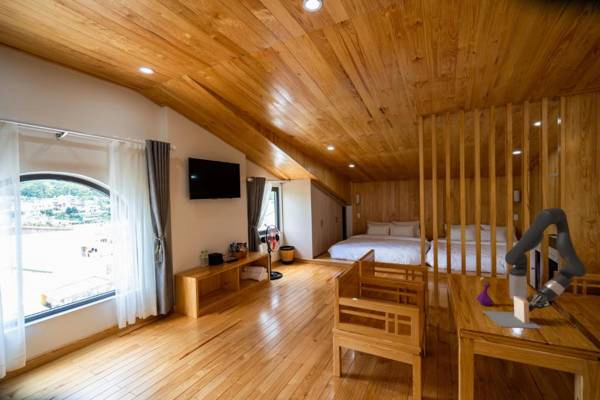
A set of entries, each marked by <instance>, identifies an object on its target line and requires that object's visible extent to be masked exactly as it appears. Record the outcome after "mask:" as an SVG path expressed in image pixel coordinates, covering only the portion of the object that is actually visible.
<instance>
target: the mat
mask: <svg viewBox="0 0 600 400" xmlns="http://www.w3.org/2000/svg"><path fill="white" fill-rule="evenodd" d="M482 313H484V315H485V316H487V317H488V318H490V320H492V321H493V322H494V323H495V324H496V325H498V326H499V327H500V328H517V329H531V330H532V329H537V330H542V329H543V327H541V326H539V325H538V324H536V323H535V322H534V321H532V320H531V319H529V323H524V322H522V321H521V320H519V319H518V318H517V317H515V316H514V312H511V311H490V310H488V311H487V310H486V311H485V310H482Z"/></svg>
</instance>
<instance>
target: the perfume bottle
mask: <svg viewBox="0 0 600 400" xmlns="http://www.w3.org/2000/svg"><path fill="white" fill-rule="evenodd" d="M482 280H485V282H484V283H483V285H482V286H483V287H484V288H483V290H482V291H481V292H480V294H479V295H477V296H476V299H477V300H478V302H479V303H480V304H481V306H484V307H485V306H486V307H490V306H491V305H492V304H494V301H493V300H492V298H491V297H490V296H489V294H488V290H489V288H490V287H491V284H490V282H489V281H488V280H487V279H486V278H485V277H483V276H482V277H480V280H479V281H482Z"/></svg>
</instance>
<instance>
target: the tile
mask: <svg viewBox="0 0 600 400" xmlns="http://www.w3.org/2000/svg"><path fill="white" fill-rule="evenodd" d="M529 305H530V303H529V300H527V301H526V300H524V299H522V298H521V297H519V296H514V300H513V309H514V310H513V311H514V316H515V317H517V318H518V319H519V320H521V321H522V322H524V323H529V320H530V312H529Z"/></svg>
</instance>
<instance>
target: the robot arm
mask: <svg viewBox="0 0 600 400" xmlns="http://www.w3.org/2000/svg"><path fill="white" fill-rule="evenodd" d="M566 214H567V213H566V212H565V210H564V209H562V208H561V207H550V208H545V209H542V210H540V211H539V213H538V214H537V215H536V217H535V219H534V220H533V221H532V224H531V225H530V226H529V227H528V229H527V230H526V231H525V232H524V234H523V235H522V236H521V237H520V239H519V240H518V241H517V243H516V244H515V245H514V246H513V247H512V248H511V249H510V250H508V251H507V252H506V253H505V257H504V261H505V263H506V264H508V265H510V266H514V267H512V268H510V269H509V270H508V277H509V278H508V281H509V283H508V284H509V298H510V300H513V301H514V296H519V297H521V298H522V299H524V300H526V301H528V302H529V313H531V312H532V311H534V310H535V309H538V310H540V309H544V308H548V307H550V304H549V302H550V301H554V300H556V299H557V297H559V296H560V295H561V294H562V293H563V292H564V291H565V290H566V289H567V288H568V287H570V286H571V285H572V280H573V278H575V277H576V278H581V277H582V278H583V277H584V276H586V274H587V268H586V266H585V263H583V261H582V260H581V258H580V257H579V256H578V253H577V251H576V248H575V247H574V243H573V240H572V237H571V233H570V227H569V222H568V218H567V217H568V216H567V215H566ZM551 225H555V227H556V238H555V239H556V240H555V245H556V249H557V251H558V254H559V256H560V258H561V260H564V261H565V262H566V264H564V265H562V267H561V268H560V269H559V271H558V272H557V274H556V275H554V276H553V277H552V278H551V279H550V280H549V281H546V282H545V283H544V284H543V285H542V286H540V288H539V289H537V290H538V293H535V294H534V295H533V294H530V295H529V299H528V288H527V287H528V285H527V284H528V283H527V273H528V263H529V262H528V256H527V254H526V253H527V252H530V251H532V250H534V249H535V248H537V247H538V246H539V245H540V244H541V243H542V241H543V239H544V232H545V231H546V230H547V228H548V227H549V226H551Z"/></svg>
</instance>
